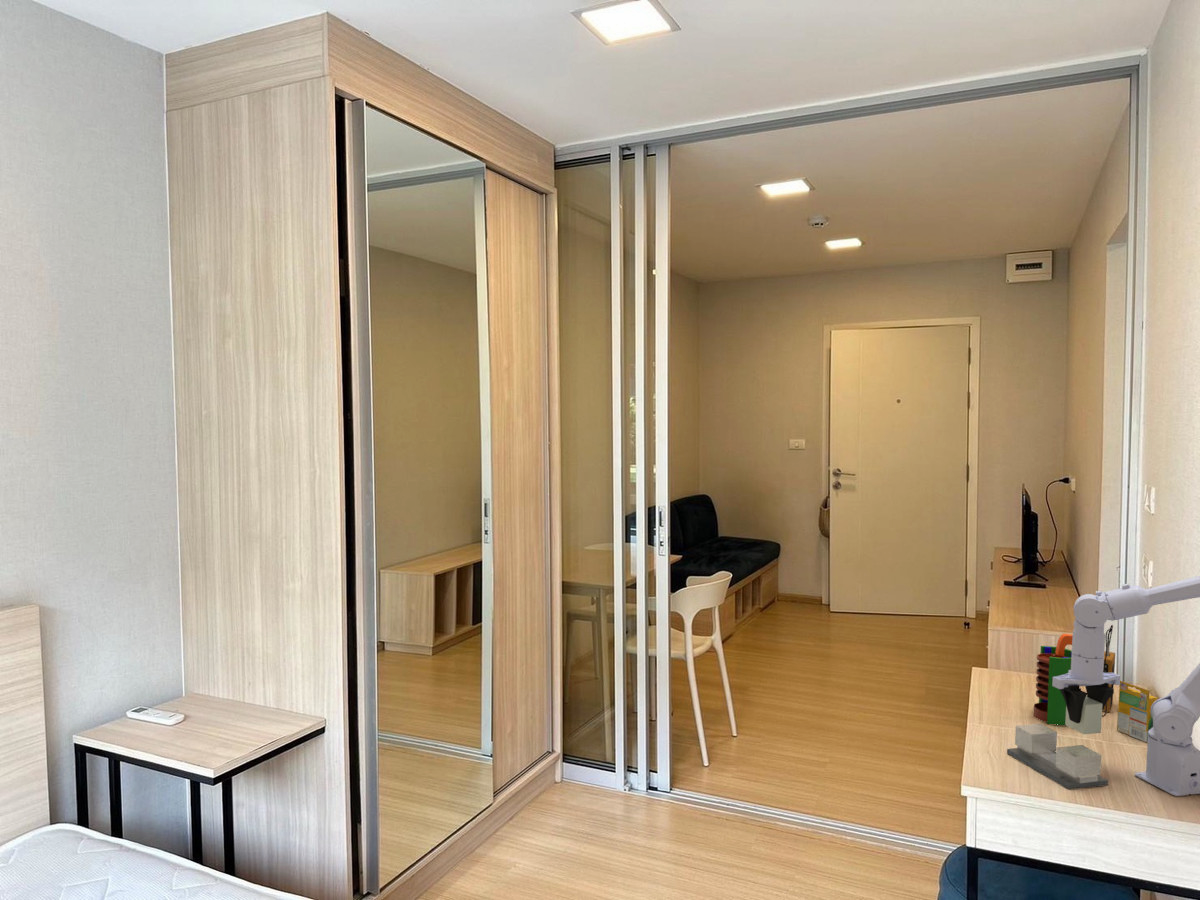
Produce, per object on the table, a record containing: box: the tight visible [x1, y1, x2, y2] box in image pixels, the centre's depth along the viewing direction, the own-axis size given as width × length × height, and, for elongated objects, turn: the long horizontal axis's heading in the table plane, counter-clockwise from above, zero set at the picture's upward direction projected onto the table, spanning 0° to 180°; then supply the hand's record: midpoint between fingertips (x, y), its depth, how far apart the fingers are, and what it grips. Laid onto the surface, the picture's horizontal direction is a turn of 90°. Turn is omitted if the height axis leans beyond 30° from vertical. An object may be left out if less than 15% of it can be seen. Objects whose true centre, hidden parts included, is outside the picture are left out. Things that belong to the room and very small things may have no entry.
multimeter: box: [1086, 624, 1116, 717], centre depth 211 cm, size 15×10×20 cm
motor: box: [1033, 633, 1073, 726], centre depth 202 cm, size 10×9×20 cm
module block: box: [1065, 697, 1103, 735], centre depth 175 cm, size 5×4×6 cm
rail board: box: [1006, 723, 1109, 790], centre depth 174 cm, size 17×9×6 cm, turn 14°
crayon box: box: [1116, 680, 1159, 743], centre depth 192 cm, size 7×3×12 cm, turn 20°
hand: (1084, 720), depth 175 cm, fingers closed on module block, 4 cm apart
